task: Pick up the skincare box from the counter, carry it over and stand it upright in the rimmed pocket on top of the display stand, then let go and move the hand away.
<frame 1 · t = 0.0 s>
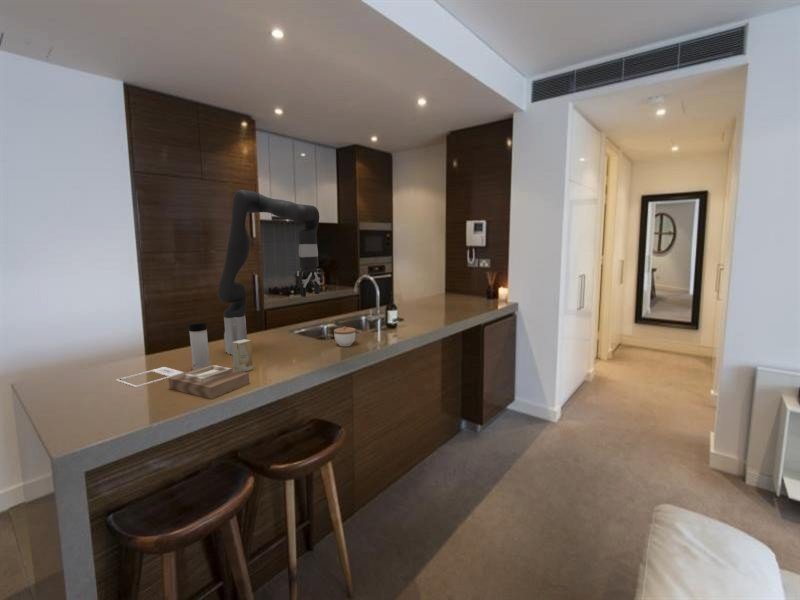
hand: (310, 295, 165), 29 cm above the counter, tool pointing down, fingers open, 8 cm apart
skincare box: (243, 370, 163), on the counter
lidded jar: (345, 345, 200), on the counter
travel mug: (201, 370, 164), on the counter
photo frame: (151, 378, 156), on the counter
display stand: (210, 386, 145), on the counter
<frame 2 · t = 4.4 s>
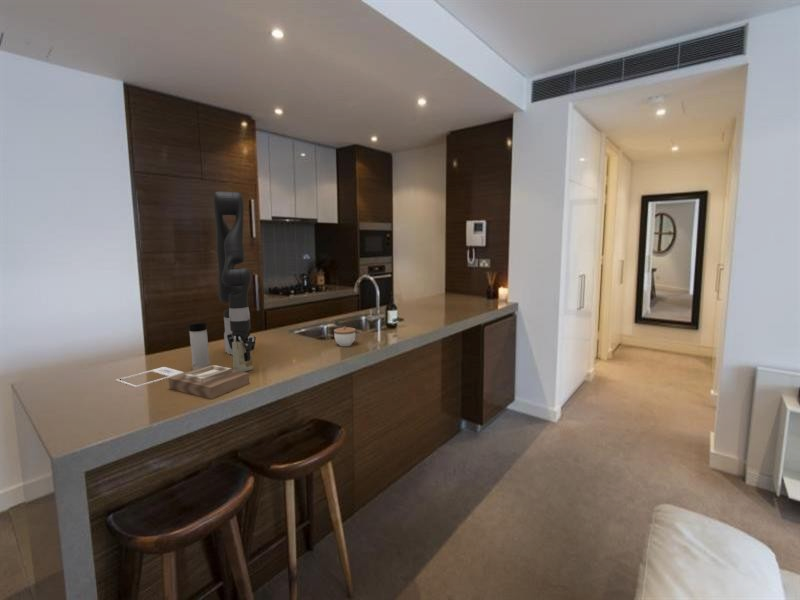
hand: (242, 360, 162), 4 cm above the counter, tool pointing down, fingers closed on skincare box, 4 cm apart
skincare box: (243, 370, 163), on the counter, touching gripper
everything else where it was.
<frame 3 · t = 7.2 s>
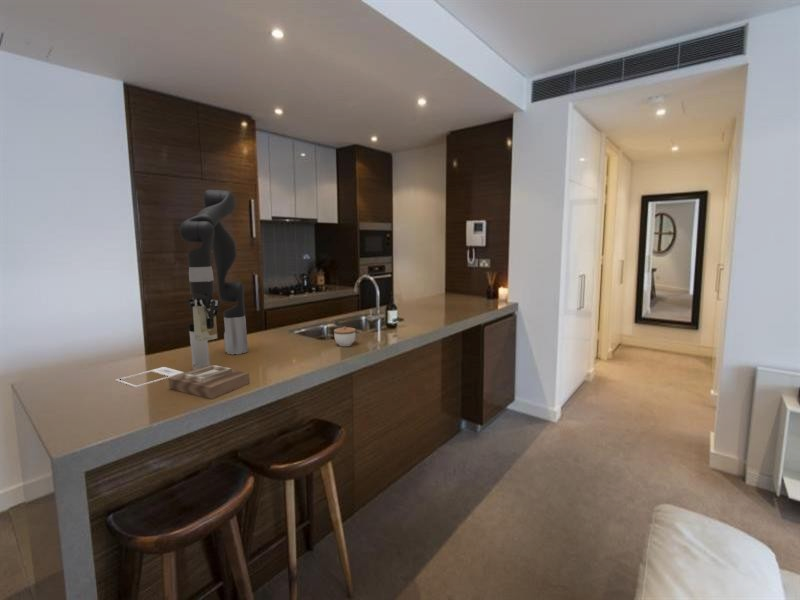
hand: (205, 327, 142), 22 cm above the counter, tool pointing down, fingers closed on skincare box, 4 cm apart
skincare box: (206, 340, 143), point 17 cm above the counter, touching gripper
everything else where it was.
when the fingers open (10 cm above the counter, at t = 10.1 s): skincare box drops 1 cm, resting on display stand.
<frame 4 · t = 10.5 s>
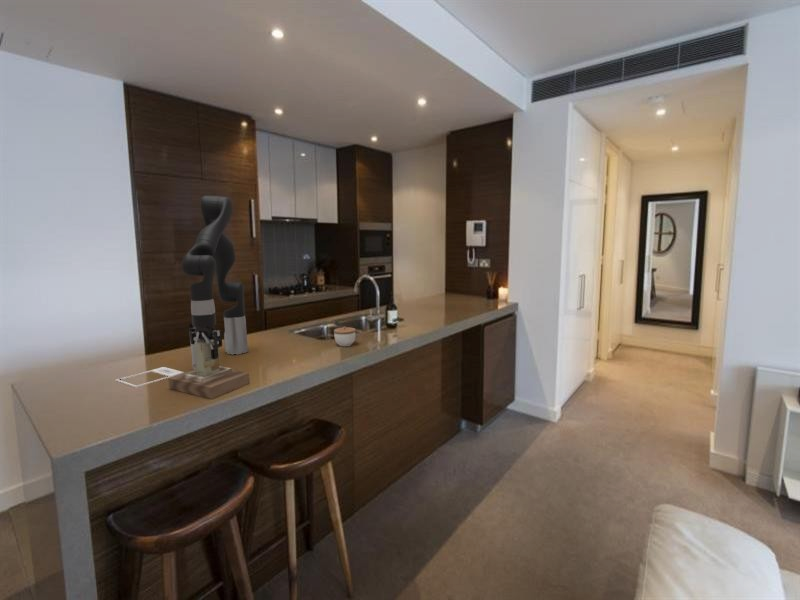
hand: (207, 357, 144), 11 cm above the counter, tool pointing down, fingers open, 7 cm apart
skincare box: (209, 375, 145), point 4 cm above the counter, touching display stand
everything else where it was.
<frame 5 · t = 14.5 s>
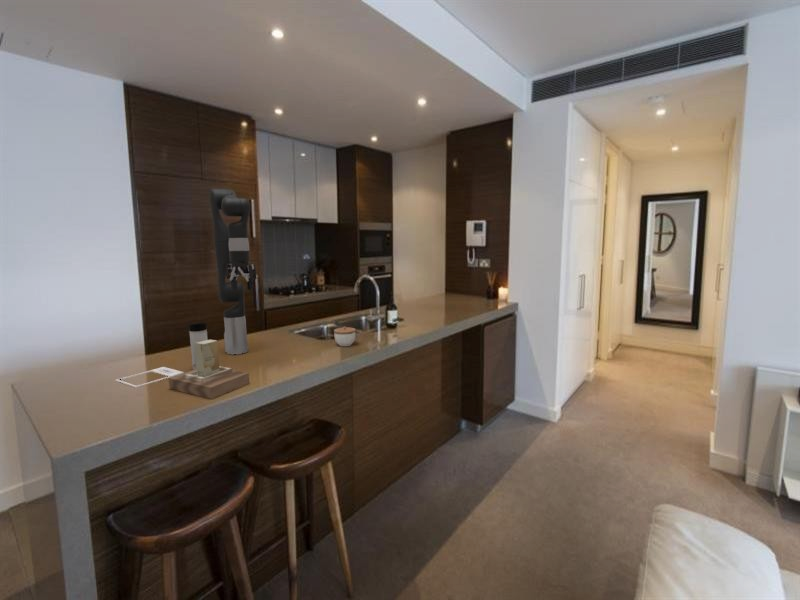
hand: (242, 290, 162), 32 cm above the counter, tool pointing down, fingers open, 8 cm apart
nothing on the counter moved.
at the end: skincare box 0.3 cm off-centre on the display stand, point 4.1 cm above the display stand's base; skincare box tilted 0°; the gripper is holding nothing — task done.
